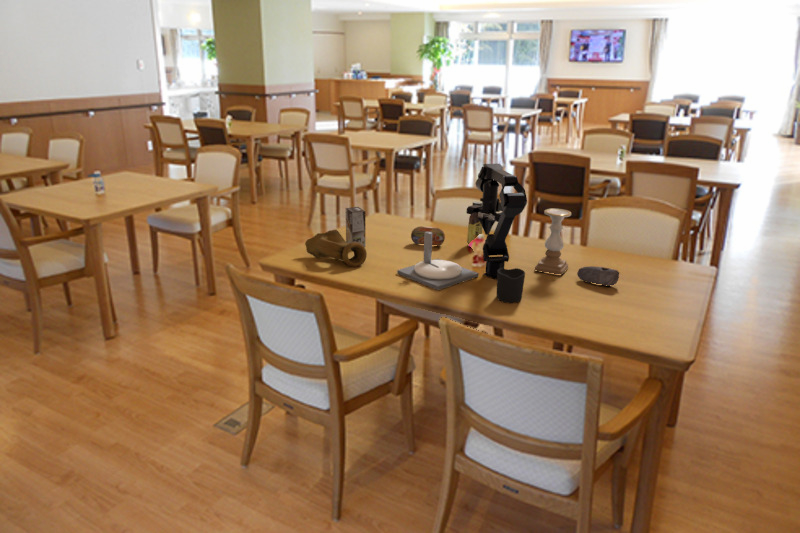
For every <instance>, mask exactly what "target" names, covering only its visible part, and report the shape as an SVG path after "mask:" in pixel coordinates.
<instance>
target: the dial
mask: <svg viewBox="0 0 800 533" xmlns="http://www.w3.org/2000/svg"><path fill="white" fill-rule="evenodd" d="M432 248H433V247H432V232H425V235H424V246H423V261H419V262H417V263H416V264H414V265H415V273H416V274H417V275H419V276H422V277H425V278H429V279H439V280H443V279H452V278H456V277H458V276H460V275H461V273H462V268H461V267H462V266H461V265H460V264H459V263H456V262H454V261H450V260H445V259H440V260H435V259H432V252H433V251H432V250H433V249H432Z"/></svg>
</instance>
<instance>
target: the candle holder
mask: <svg viewBox="0 0 800 533" xmlns="http://www.w3.org/2000/svg"><path fill="white" fill-rule="evenodd" d="M543 214H544V215H547V216H549V218H550V219H551V224H550V225H549V227H548V229H550V230H549V231H550V234H549V236H548V237H547V238H546V240H545V242H544V247H545V248H546V250H545V253H544V254H545V256H543V257H542V258H541V259H540V260H539V261H538V263H536V265H535V267H534V271H535V270H537V271H542V272H549V273H554V274H561V275H562V274H563V273H564V272H565V270H566V269H567V268H568V269H569V264H568V263H567V260H565V259H562V258H561V257H562V256H561V255H562V252H561V251H562V250H563V249H564V247H565V246H564V245H565V244H564V241H563V239H562V237H561V231H562V230H563V229H564V227H563V225H562V222H563V221H564V219H565V218H568V217H571V216H572V212H571V211H570V210H568V209H563V208H547V209H545V210H544V213H543ZM568 269H567V270H568ZM565 273H566V272H565ZM565 273H564V274H565ZM564 274H563V275H564ZM563 275H562V276H563Z"/></svg>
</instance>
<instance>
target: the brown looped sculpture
mask: <svg viewBox="0 0 800 533" xmlns="http://www.w3.org/2000/svg"><path fill="white" fill-rule="evenodd" d="M304 245H305V247H306V253H307V254H309V255H311V256H313V257H315V258H317V259H321V258H326V257H328V258H329V257H330V258H332V259H334V260H340V261H343V262H344V263H345V264H347V265H348V266H349V267H351V268H358V267H360V266H362V265H363V264H364V263H365V262H366V259H367V254H368V253H367V250H366V249H367V248H365V247H364V246H363V245H362V244H360V243H358V242H351V243H349V244H348V243H347V242H346V239H344V237H343V236H342V234H341V232H339V230H337V229H332V230H331V229H330V230H328V231H326V232H322V233H319V232H318V233H316V234H315V235H314V236H312V237H311V238H308V239H306V241H305V243H304ZM350 251H352V252H353V256H352V257H351V258H349V252H350Z"/></svg>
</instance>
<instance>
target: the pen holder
mask: <svg viewBox="0 0 800 533" xmlns="http://www.w3.org/2000/svg"><path fill="white" fill-rule="evenodd" d="M525 276H526V272H525V270H523V269H521V268H510V269H508V268H507V269H506V268H504V269H503V268H500V269H498V270H497V279H496V298H497V300H498V299H499V301H500V302H502V301H503V303H506V302H509V303H508V304H514V303H513V302H516V303H519V302H520V301H522V298H523V291H524V284H525ZM518 301H519V302H518Z"/></svg>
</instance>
